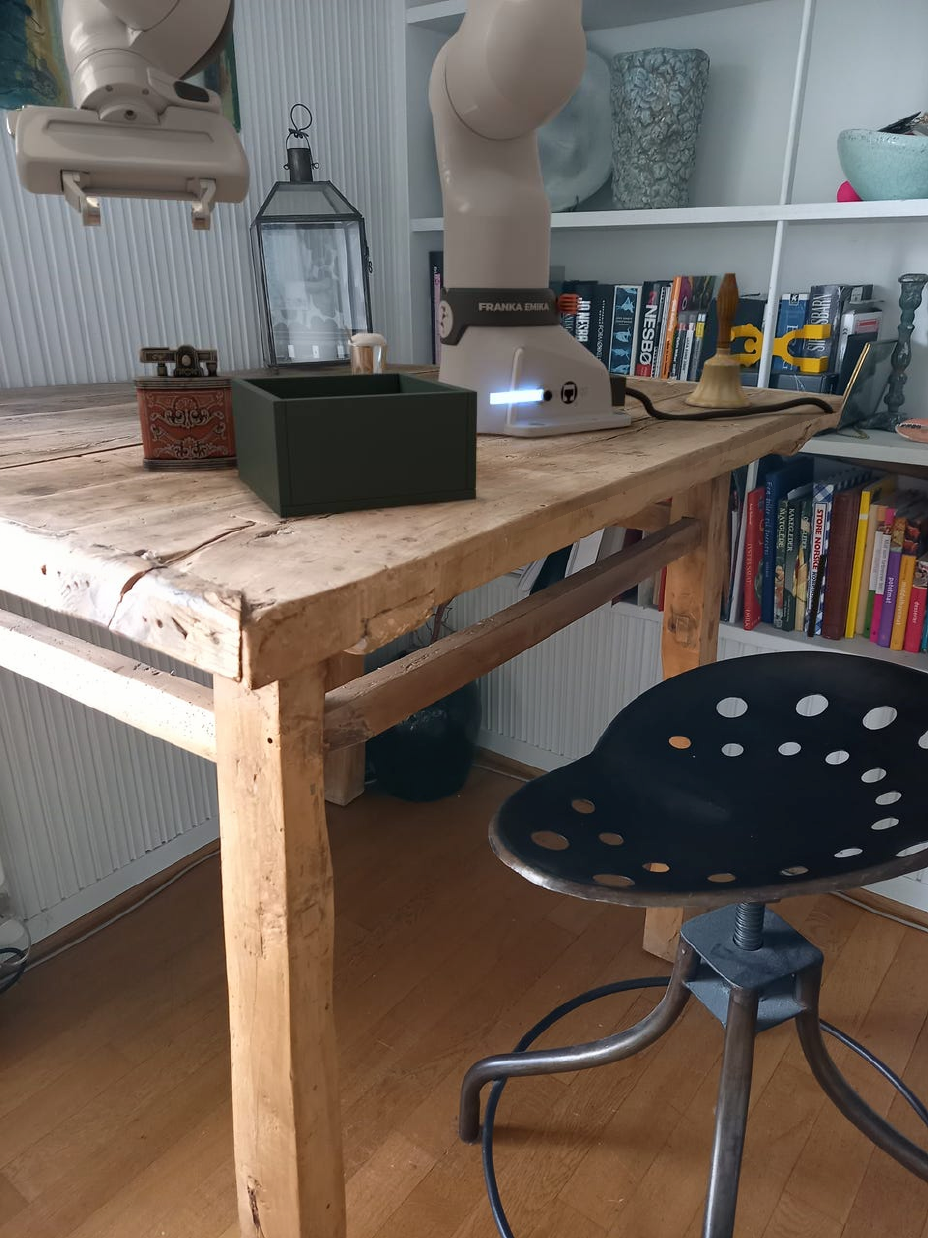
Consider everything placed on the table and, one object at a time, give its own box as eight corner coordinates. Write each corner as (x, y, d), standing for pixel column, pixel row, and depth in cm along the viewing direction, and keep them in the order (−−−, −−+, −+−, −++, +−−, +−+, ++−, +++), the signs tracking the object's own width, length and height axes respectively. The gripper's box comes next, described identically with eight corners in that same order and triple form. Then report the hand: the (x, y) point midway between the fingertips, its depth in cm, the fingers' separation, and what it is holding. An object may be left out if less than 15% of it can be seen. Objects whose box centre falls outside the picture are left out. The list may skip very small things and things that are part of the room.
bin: (405, 463, 79) (404, 371, 76) (476, 499, 67) (477, 391, 64) (238, 476, 73) (229, 378, 71) (280, 518, 61) (272, 401, 58)
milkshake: (337, 412, 108) (333, 324, 104) (373, 408, 111) (371, 323, 107) (359, 417, 104) (357, 326, 101) (396, 412, 108) (394, 325, 104)
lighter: (241, 461, 79) (232, 342, 76) (241, 468, 76) (231, 345, 73) (145, 464, 78) (131, 343, 74) (141, 472, 75) (126, 346, 71)
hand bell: (740, 410, 112) (756, 272, 106) (676, 405, 116) (688, 272, 110) (758, 403, 119) (773, 273, 113) (696, 398, 123) (708, 272, 117)
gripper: (-1, 71, 79) (15, 186, 74) (235, 93, 87) (264, 198, 82) (8, 135, 84) (24, 246, 79) (230, 150, 92) (257, 252, 87)
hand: (148, 222), depth 81 cm, fingers open, 8 cm apart
